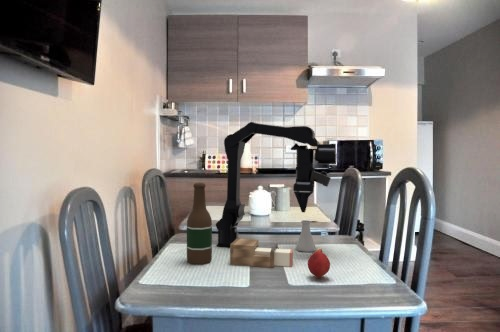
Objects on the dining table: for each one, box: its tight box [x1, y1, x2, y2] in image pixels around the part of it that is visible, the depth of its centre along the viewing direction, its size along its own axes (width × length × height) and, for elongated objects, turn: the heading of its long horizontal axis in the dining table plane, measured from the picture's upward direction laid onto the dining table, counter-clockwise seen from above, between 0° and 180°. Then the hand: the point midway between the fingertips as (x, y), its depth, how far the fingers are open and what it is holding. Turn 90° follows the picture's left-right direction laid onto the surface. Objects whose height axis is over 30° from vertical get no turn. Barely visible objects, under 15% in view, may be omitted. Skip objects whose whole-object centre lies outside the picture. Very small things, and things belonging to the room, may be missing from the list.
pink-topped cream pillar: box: [254, 247, 294, 268], centre depth 108 cm, size 14×4×4 cm, turn 78°
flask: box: [295, 219, 317, 253], centre depth 124 cm, size 7×7×10 cm
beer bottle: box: [186, 182, 213, 266], centre depth 109 cm, size 8×8×24 cm
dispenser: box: [229, 237, 278, 269], centre depth 109 cm, size 13×8×6 cm, turn 78°
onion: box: [307, 247, 331, 279], centre depth 95 cm, size 6×6×8 cm
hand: (304, 210), depth 121 cm, fingers open, 9 cm apart
